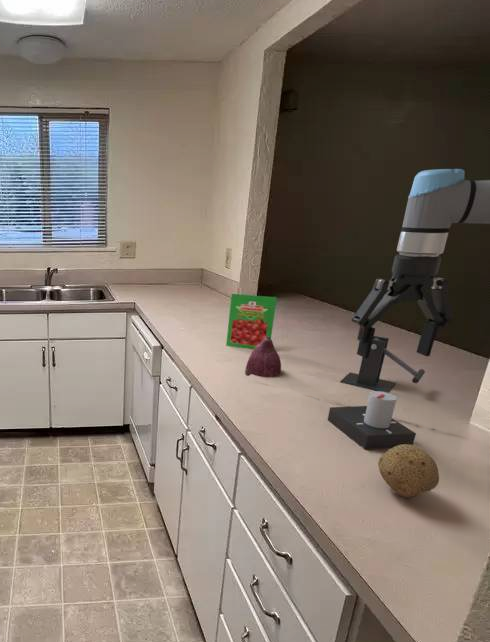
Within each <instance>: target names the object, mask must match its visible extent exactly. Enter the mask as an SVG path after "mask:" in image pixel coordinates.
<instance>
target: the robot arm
mask: <svg viewBox="0 0 490 642" xmlns="http://www.w3.org/2000/svg"><path fill="white" fill-rule="evenodd" d="M465 174H466V173H465V170H464V169H462V168H452V169H451V168H438V169H425V170H421V171H419V172H418V173H417V174H416V175H415V176H414V179H413V182H412V187H411V189H410V193H409V195H408V196H407V198H408V199H407V202H406V207H405V213H404V217H403V220H402V221H403V222H402V226H401V230H400V235H399V238H398V242H397V247H396V252H397V253H398V254H395V255H394V259H393V263H392V267H391V273H392V277H391V279H389V280H388V279H385V278H384V279H383V278H379V277H378V278H376V279H375V281H374V283H373V287H372V289H371V290H370V292H369V294H368V295H367V296H366V298H365V300H363V302H362V304H361V305H360V306H359V308H358V309H357V310H356V312H355V314H354V315H353V316H352V318H351V322H352V323H354V324H357V325H359V328H358V333H357V337H356V338H357V341H358V347H357V350H356V351H357V352H356V355H358V356H361V357H364V358H369V353H370V349H371V345H372V341H373V336H375V333H376V328H375V327H373V326H374V325H375V324H376V323H377V322H378V321H380V320H381V318H382V317H383V316H385V315H386V314H387V313H388V312H389V311H390V310H391V309H392V308H393V307H394V306H396V305H398V304H399V303H401V302H402V303H404V302H406V303H407V302H410V301H411V302H416V303H417V304H418V306H419V308H420V309H421V311H422V313H423V315H424V316H425V318H426V321H428V323H424V324H423V326H422V329H421V334H420V337H419V341H418V344H417V350H416V353H417V354H420V355H421V356H424V357H430V356H431V352H432V349H433V345H434V342H435V341H437V339H438V336H439V333H440V329H441V328H445V327H446V326H447V324H450V323H452V322H453V314H452V313H453V312H452V309H451V304H450V298H449V294H448V285H449V279H448V278H445V277H438V276H436V275H438V273H439V269H440V266H441V262H442V258H441V256H440V255H441V254H443V253H444V252H445V247H446V243H447V240H448V237H449V232H450V228H451V225H452V224H483V225H484V224H486V225H487V224H488V225H490V179H484V180H472V179H471V180H470V179H465V178H466V177H465ZM435 276H436V277H435ZM430 290H431V293H430Z"/></svg>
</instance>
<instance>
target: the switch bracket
mask: <svg viewBox="0 0 490 642" xmlns="http://www.w3.org/2000/svg"><path fill="white" fill-rule="evenodd" d="M375 338H378V339H379V340H375ZM389 341H390V339H389V337H384V336H377V335H374V336H373V341H372V345H371V349H370V353H369V358H364V357H362V356H361V357H362V358H361V362H360V365H359V366H360V367H359V370H358V373H354V372H348V373H347V374H346V375H345V376H343V378H341V379H340V381H339V383H340V384H346V385H349V386H353V387H357V388H361V389H366V390H368V391H369V390H370V391H381V392H386V393H390V392H391V390H392V389H393V388H394V386H395V385H396V382H395V381H391V380H386V379H382V378H380V377H381V374H382V370H383V369H382V368H383V364H384V361H385V357H386V354H384V353H383V350H384V348H386V349H387V350H388V343H389Z"/></svg>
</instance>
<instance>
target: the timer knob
mask: <svg viewBox="0 0 490 642" xmlns="http://www.w3.org/2000/svg"><path fill="white" fill-rule="evenodd" d="M397 399H398V398H397V396H396V395H394V394H392V393H390V392H388V393H386V392H381V391H374V390H372V391H371V392H369V397H368V400H367V404H366V406H367V409H366V413H365V417H364V422H365V423H366V424H367V425H369V426H372V427H375V428H381V429H385V428H389V426H390V423H391V419H392V418H393V415H394V410H395V407H396V403H397Z"/></svg>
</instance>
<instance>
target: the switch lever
mask: <svg viewBox="0 0 490 642" xmlns="http://www.w3.org/2000/svg"><path fill="white" fill-rule="evenodd" d="M375 340H379V339H378V338H375ZM383 353H384V354H385V356H387V357H388V358H389V359H391V360H392V361H394V362H395V363H396V364H397V365H398V366H400V367H401V368H402V369H404V370H405V371H406V372H408V373H409V374H411V375H412V376H413V378H412V379H411V382H412V383H413V384H418V383H419V382H420V381H421V379H422V377H423V376H424V375H425V373H426V371H425V370H424V369H423V368H420V369H418V371H417V370H415V369H414V368H412V367H411V366H410V365H409V364H407V363H406V362H404V361H403V360H402V359H400V358H399V357H397V356H396V355H395V354H394V353H392V352H391V351H390V350H388V348H387V349H386V348H384V350H383Z"/></svg>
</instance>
